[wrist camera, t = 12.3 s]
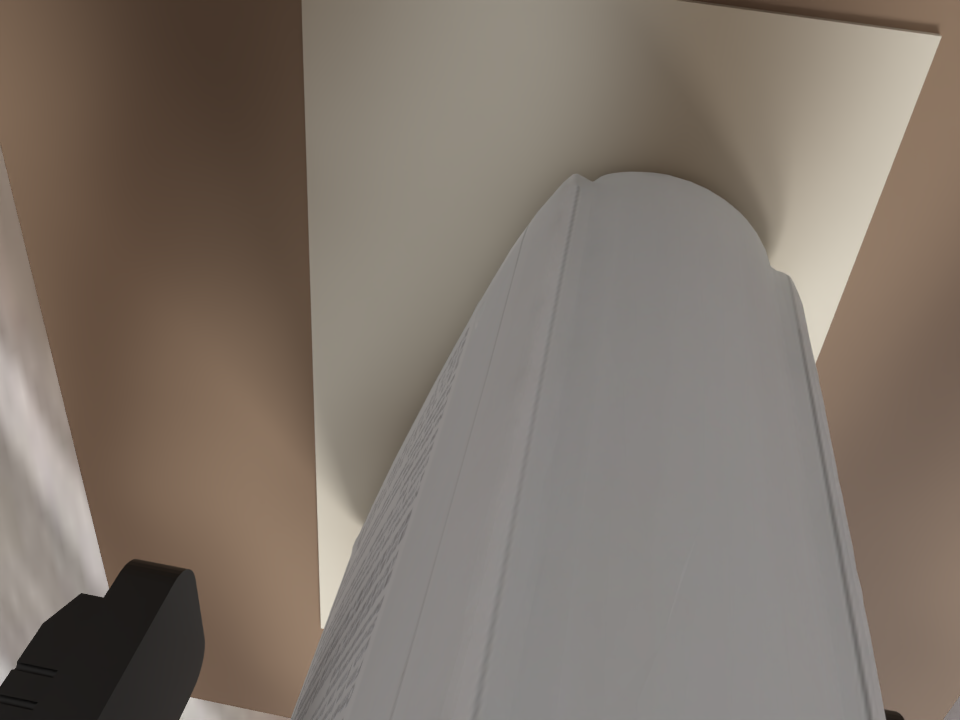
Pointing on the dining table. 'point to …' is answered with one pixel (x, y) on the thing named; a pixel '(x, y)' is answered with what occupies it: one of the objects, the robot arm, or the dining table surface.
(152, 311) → the walnut dock
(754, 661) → the photo printer
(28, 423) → the dining table surface
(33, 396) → the dining table surface
